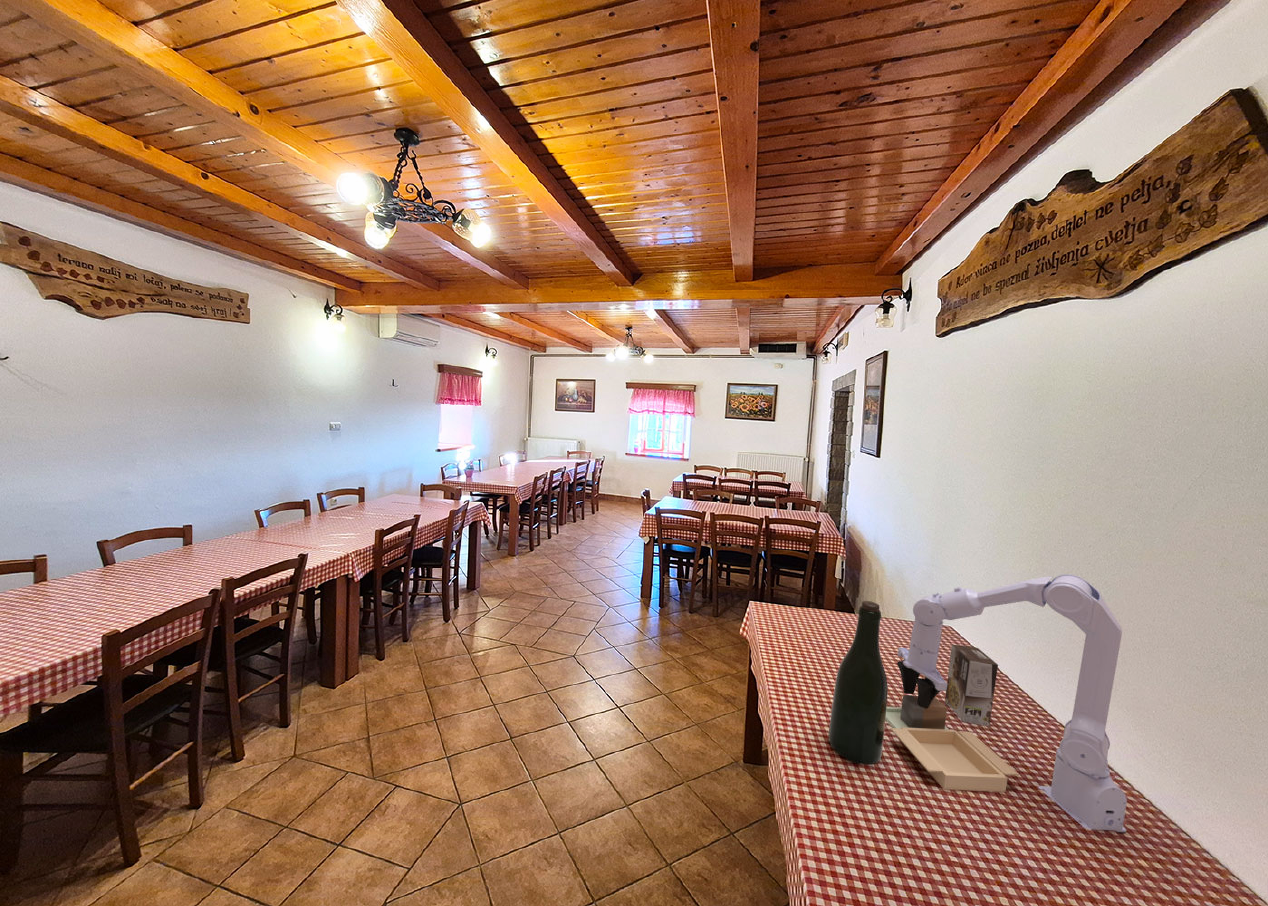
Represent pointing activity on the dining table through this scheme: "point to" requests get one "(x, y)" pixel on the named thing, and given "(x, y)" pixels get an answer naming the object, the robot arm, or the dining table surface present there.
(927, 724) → the walnut block
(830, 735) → the beer bottle
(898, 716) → the green tray
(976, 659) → the coffee box
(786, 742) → the dining table surface
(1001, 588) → the robot arm
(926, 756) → the carton
